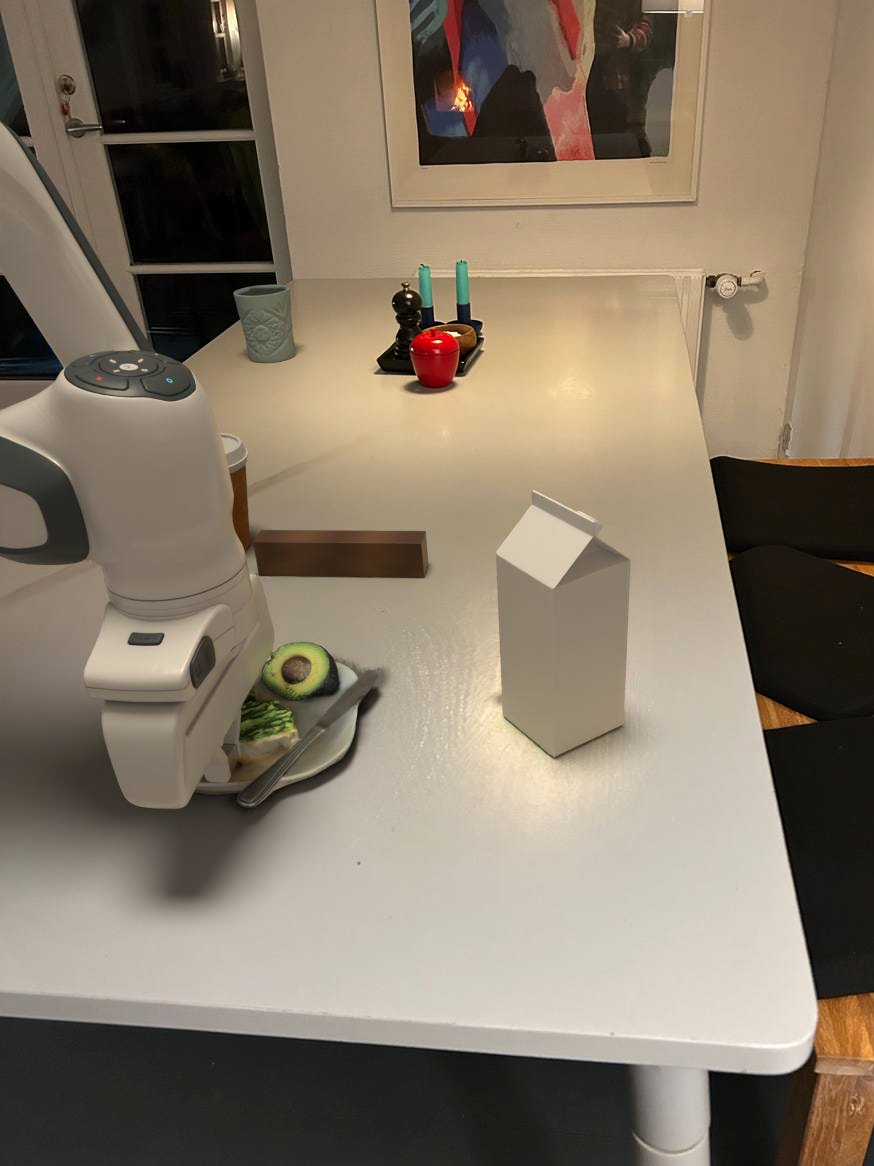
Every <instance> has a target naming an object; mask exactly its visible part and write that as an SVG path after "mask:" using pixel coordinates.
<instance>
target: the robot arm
mask: <svg viewBox="0 0 874 1166" xmlns="http://www.w3.org/2000/svg"><path fill="white" fill-rule="evenodd" d="M0 272H1V273H2V275H3V276H4V278H5V279H6V281H7V283H9V285H10V287H11V288H12V290H13V291H14V293H15V295H16V296H17V298H18V299H19V301H20V302H21V304H22V305H23V308H25V310H26V311H27V313H28V315H29V316H30V317H31V319H32V321H33V322H34V324H35V325H36V327H37V329H38V330H39V331H40V333H41V334H42V336H43V338H44V339H45V341H46V342H47V344H48V345H49V347H50V348H51V349H52V352H53V353H54V354H55V357H57V359H58V360H59V362H60V364H61V366H62V367H63V368H62V370H60V372H59V374H58V375H57V377H56V379H55V380H54V382H52V383H51V384H50V385H49V386H47V387H46V388H45V389H43V390H41V391H40V392H38V393H37V394H35V395H33V396H31V397H29V398H26V399H25V400H21V401H19V402H17V403H14V404H11V405H9V406H7V407H4V408H2V409H0V558H3V559H6V560H8V561H12V562H16V563H20V564H25V565H30V566H31V565H32V566H33V565H34V566H65V565H73V564H78V563H81V562H83V561H91V562H93V563H96V564H97V565H98V566H99V567H100V569H101V570H102V573H103V577H104V579H103V580H104V584H105V588H106V590H107V595H108V598H109V601H107V603H106V604H105V607H104V610H103V611H104V612H103V618H102V623H101V627H100V629H99V633H98V636H97V638H96V641H95V643H94V646H93V648H92V650H91V653H90V655H89V657H88V659H87V661H86V663H85V666H84V669H83V678H82V679H83V683H84V686H85V689H86V692H87V695H88V696H89V698H91V699H96V700H103V704H102V707H101V729H102V735H103V739H104V743H105V746H106V749H107V753H108V756H109V760H110V762H111V766H112V769H113V771H114V775H115V777H116V780H117V783H118V785H119V788H120V790H121V792H122V794H123V796H124V798H125V799H126V801H128V802H129V803H131V804H132V805H135V806H136V807H142V808H149V809H165V810H166V809H169V810H177V809H182V808H184V807H186V806H187V805H188V804H189V802H190V800H191V798H192V797H193V794H194V793H195V792H194V791H195V789H196V787H197V785H198V784H199V782H200V780H201V778H202V776H203V775H205V778H206V779H207V780H208V781H210V782H217V783H226V782H228V781H229V779H230V776H231V775H232V773H233V770H234V768H235V767H236V765H237V763H238V761H239V759H240V757H241V755H242V752H241V748H240V743H239V735H240V722H241V706H242V704H243V703H244V701H245V699H246V697H247V695H248V694H249V692H250V690H251V688H252V686H253V685H254V683H255V681H256V679H257V677H258V676H259V674H260V672H261V670H262V668H263V667H264V665H265V663H266V662H267V661H268V660H269V657H271V656H270V654H271V653H272V652H273V650H274V647H275V628H274V623H273V620H272V615H271V611H270V608H269V604H268V599H267V596H266V593H265V590H264V587H263V584H262V582H261V579H260V577H259V576H257V575H256V574H255V573H250V569H249V565H248V561H247V555H246V552H245V551H246V550H245V551H244V548H243V545H242V543H241V541H240V540H239V538H238V536H237V534H236V532H235V529H234V526H233V521H232V510H233V502H234V494H233V488H232V482H231V477H230V473H229V468H228V463H227V458H226V454H225V450H224V446H223V442H222V438H221V434H220V433H221V431H220V428H219V425H218V421H217V418H216V416H215V413H214V410H213V407H212V404H211V401H210V400H209V397H208V395H207V394H206V391H205V389H204V387H203V386H202V384H201V382H200V381H199V379H198V377H197V376H196V375H195V373H194V372H193V371H192V370H191V368H190V367H188V366H187V365H185V364H184V363H182V362H180V361H179V360H176V359H174V358H172V357H170V356H167V355H164V354H161V353H158V352H157V351H156V350H155V348H154V347H153V346H152V345H151V343H150V342H149V340H148V339H147V337H146V336H145V334H144V333H143V331H142V329H141V328H140V326H139V325H138V323H137V321H136V320H135V318H134V316H133V315H132V312H131V311H130V309H129V308H128V306H127V304H126V302H125V300H124V299H123V297H122V295H121V294H120V292H119V290H118V289H117V287H116V285H115V283H114V282H113V281H112V279H111V277H110V275H109V274H108V272H107V270H106V269H105V267H104V265H103V263H102V262H101V260H100V259H99V257H98V255H97V253H96V251H95V250H94V248H93V247H92V244H91V243H90V242H89V240H88V238H87V237H86V234H85V233H84V232H83V229H82V228H81V227H80V224H79V223H78V221H77V220H76V218H75V216H74V214H73V213H72V211H71V210H70V208H69V206H68V205H67V203H66V201H65V200H64V198H63V196H62V195H61V193H60V191H59V190H58V188H57V187H56V185H55V183H54V182H53V180H52V179H51V177H50V176H49V173H47V171H46V170H45V169H44V166H43V165H42V163H40V161H39V160H38V158H37V157H36V155H35V154H34V153H33V151H32V150H31V149H30V148H29V146H28V145H27V144H26V142H24V140H23V139H22V138H21V137H20V136H19V135H18V134H17V133H16V131H14V130H13V129H12V128H11V127H10V126H8V125H6V124H5V123H4V122H3V121H1V120H0Z"/></svg>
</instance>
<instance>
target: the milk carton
mask: <svg viewBox="0 0 874 1166" xmlns="http://www.w3.org/2000/svg"><path fill="white" fill-rule="evenodd" d="M603 526H604V525H603V524H602V522H600V521H599V520H597V519H595V518H593V517H592V516H590V515H589V514H587V513H585V512H583V511H580V510H577V511H576V510H574V509H572V508H570V507H569V506H567V505H564V504H562V503H560V502H558V501H557V500H555V499H553V498H550V497H549V496H546V495H545V494H543V493H540V492H539V491H537V490H532V491H531V505H530V506H529V507H528V509H527V510H526V512H524V514H523V515H522V517H521V518H520V519H519V521H518V522H517V524H516V525H515V526H514V527H513V529H512V530H511V531H510V533H509V534H508V535H507V537H506V538H505V539H504V541H503V542H502V543H501V545H500V546H499V547H498V549H497V550H496V551H495V562H496V563H495V564H496V586H497V587H496V588H497V590H496V591H497V613H498V637H499V658H500V660H499V661H500V685H501V686H500V687H501V709H502V715H503V717H505V719H507V720H508V721H509V722H511V723H512V724H513V725H514V726H515V727H517V728H518V729H519V730H520V731H521V732H522V733H524V734H525V735H526V736H527V737H528V738H529V739H531V740H532V741H533V742H534V743H536V744H537V745H538V746H539V745H540V746H539V747H541V749H543V751H545V752H546V753H548V754H549V755H550V756H552V758H556V757H558V756H559V755H562V754H564V753H566V752H568V751H570V750H572V749H574V748H576V747H579V746H581V745H583V744H585V743H587V742H589V741H591V740H593V739H595V738H597V737H600V736H602V735H604V734H606V733H608V732H611V731H612V730H614V729H616V728H619V727H621V726H623V725H624V724H625V723H624V722H625V706H626V705H625V704H626V703H625V702H626V701H625V700H626V682H627V680H626V678H627V659H628V658H627V656H628V635H629V634H628V632H629V612H630V611H629V607H630V584H631V559H630V558H629V557H627V556H626V555H624V554H623V553H622V552H620V551H619V550H617V549H616V548H614V547H612V546H611V545H610V544H608V543H606V542H605V541H603V540H602V539H600V538H599V537H598V535H599V533H600V532H601V530H602V528H603Z"/></svg>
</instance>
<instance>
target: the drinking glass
mask: <svg viewBox="0 0 874 1166" xmlns="http://www.w3.org/2000/svg"><path fill="white" fill-rule="evenodd" d="M233 297H234V302H235V304H236V309H237V314H238V316H239V319H240V323H241V327H242V332H243V335H244V339H245V344H246V350H247V354H248V357H249V361H251V362H254V363H259V364H271V363H280V362H285V361H287V360H290V359H292V358H294V357H295V356H296V344H295V338H294V331H293V326H294V325H293V319H292V300H291V299H292V298H291V288H290V287H289V286H288V285H284V284H262V285H252V286H247V287H246V286H245V287H243V288H240V289H236V290H235V291H233Z"/></svg>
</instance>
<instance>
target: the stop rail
mask: <svg viewBox="0 0 874 1166" xmlns="http://www.w3.org/2000/svg"><path fill="white" fill-rule="evenodd" d="M427 539H428V538H427V531H426V530H344V529H343V530H342V529H340V530H339V529H338V530H337V529H335V530H333V529H330V530H329V529H328V530H326V529H325V530H324V529H323V530H322V529H321V530H320V529H315V530H314V529H261V530H260V531H259V533H258V534H257V535H256V536H255V538H254V539H253V541H252V546H253V551H254V557H255V561H256V567H257V572H258V576H265V577H266V576H267V577H268V576H270V577H271V576H274V577H275V576H278V577H280V576H282V577H283V576H284V577H288V576H289V577H346V578H347V577H353V578H354V577H357V578H361V577H362V578H373V577H374V578H425V576H426V573H427V570H428V568H429V565H430V564H429V554H428V552H429V551H428V543H427V542H428V540H427Z"/></svg>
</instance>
